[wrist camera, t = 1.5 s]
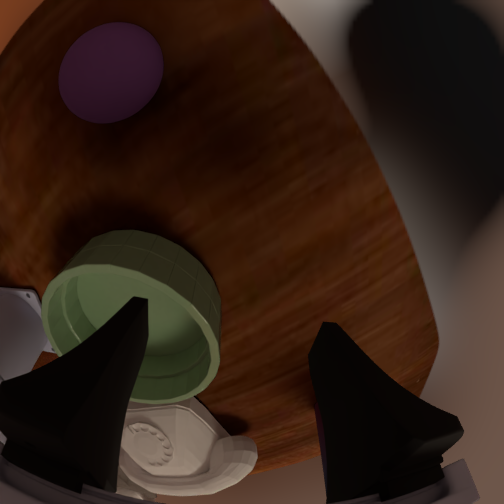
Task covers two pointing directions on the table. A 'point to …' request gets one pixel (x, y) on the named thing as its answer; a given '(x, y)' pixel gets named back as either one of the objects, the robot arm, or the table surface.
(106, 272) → the sage bowl
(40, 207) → the table surface
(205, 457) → the telephone
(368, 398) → the robot arm
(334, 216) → the table surface
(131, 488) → the grey rock
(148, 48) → the purple ball
